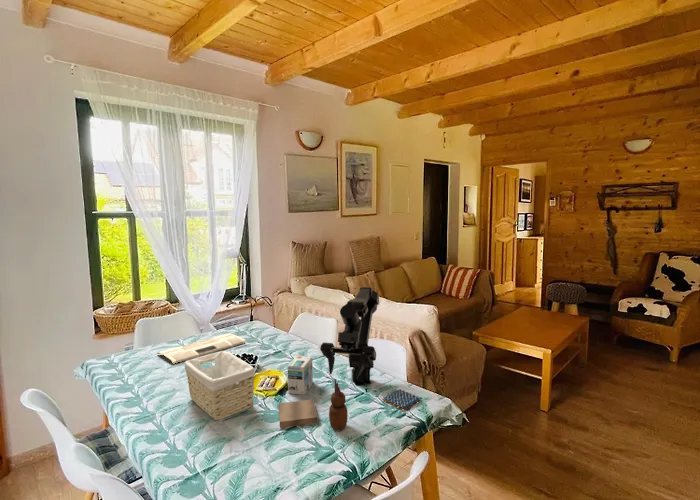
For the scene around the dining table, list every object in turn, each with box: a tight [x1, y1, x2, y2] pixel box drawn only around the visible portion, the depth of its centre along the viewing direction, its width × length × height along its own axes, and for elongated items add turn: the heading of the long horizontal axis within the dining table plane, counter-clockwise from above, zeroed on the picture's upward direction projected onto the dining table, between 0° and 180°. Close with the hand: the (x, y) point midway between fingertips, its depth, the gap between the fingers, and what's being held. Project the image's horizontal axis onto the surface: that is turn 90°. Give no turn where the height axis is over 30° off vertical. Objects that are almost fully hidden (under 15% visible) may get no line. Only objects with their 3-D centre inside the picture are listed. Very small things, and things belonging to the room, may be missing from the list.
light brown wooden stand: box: [277, 398, 319, 429], centre depth 130 cm, size 12×12×2 cm
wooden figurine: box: [328, 379, 349, 431], centre depth 122 cm, size 7×6×15 cm
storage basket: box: [184, 350, 256, 421], centre depth 138 cm, size 24×16×15 cm
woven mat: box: [382, 389, 423, 412], centre depth 139 cm, size 10×11×2 cm
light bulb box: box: [287, 355, 314, 396], centre depth 150 cm, size 11×7×11 cm, turn 168°
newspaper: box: [156, 333, 246, 365], centre depth 194 cm, size 37×19×3 cm, turn 137°
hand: (343, 375), depth 129 cm, fingers open, 9 cm apart
